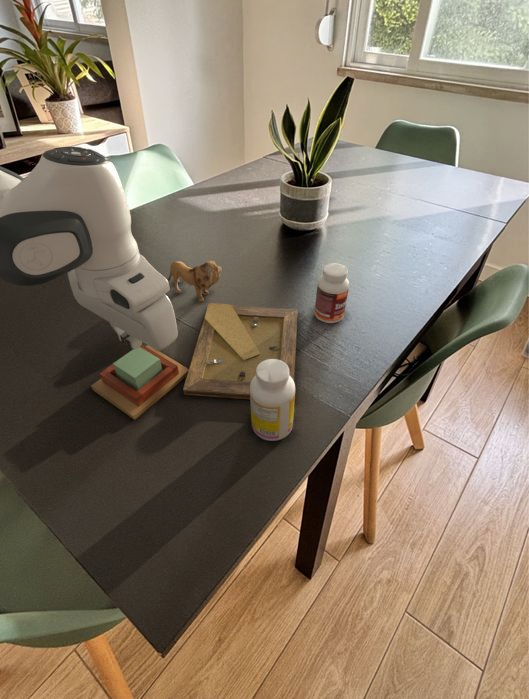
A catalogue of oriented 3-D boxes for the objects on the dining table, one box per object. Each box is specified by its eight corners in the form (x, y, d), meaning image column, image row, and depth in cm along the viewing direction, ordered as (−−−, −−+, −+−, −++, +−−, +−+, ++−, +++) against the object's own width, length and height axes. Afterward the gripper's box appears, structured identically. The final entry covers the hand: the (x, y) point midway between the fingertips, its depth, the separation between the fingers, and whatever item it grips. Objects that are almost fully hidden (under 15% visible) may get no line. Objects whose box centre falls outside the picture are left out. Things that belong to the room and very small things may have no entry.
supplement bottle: (279, 403, 72) (282, 348, 63) (300, 432, 67) (306, 377, 59) (244, 418, 69) (241, 363, 61) (263, 449, 65) (263, 394, 56)
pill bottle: (337, 328, 86) (344, 282, 78) (309, 318, 88) (313, 273, 80) (348, 311, 90) (356, 266, 82) (321, 302, 92) (326, 258, 84)
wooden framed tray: (134, 420, 69) (130, 408, 67) (92, 389, 74) (87, 377, 72) (190, 373, 77) (188, 361, 75) (148, 348, 81) (145, 336, 79)
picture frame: (209, 309, 90) (184, 395, 73) (208, 303, 89) (182, 388, 72) (297, 314, 89) (292, 403, 72) (297, 308, 88) (293, 396, 71)
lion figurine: (226, 293, 94) (224, 258, 88) (215, 307, 91) (212, 271, 85) (169, 278, 98) (163, 243, 92) (157, 291, 95) (149, 255, 89)
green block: (139, 394, 72) (134, 378, 69) (118, 379, 74) (112, 363, 71) (163, 375, 75) (159, 359, 72) (142, 361, 77) (137, 345, 75)
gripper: (46, 256, 62) (75, 328, 72) (141, 308, 53) (160, 382, 63) (83, 239, 66) (106, 309, 75) (177, 285, 57) (190, 358, 67)
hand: (131, 343), depth 69 cm, fingers closed
